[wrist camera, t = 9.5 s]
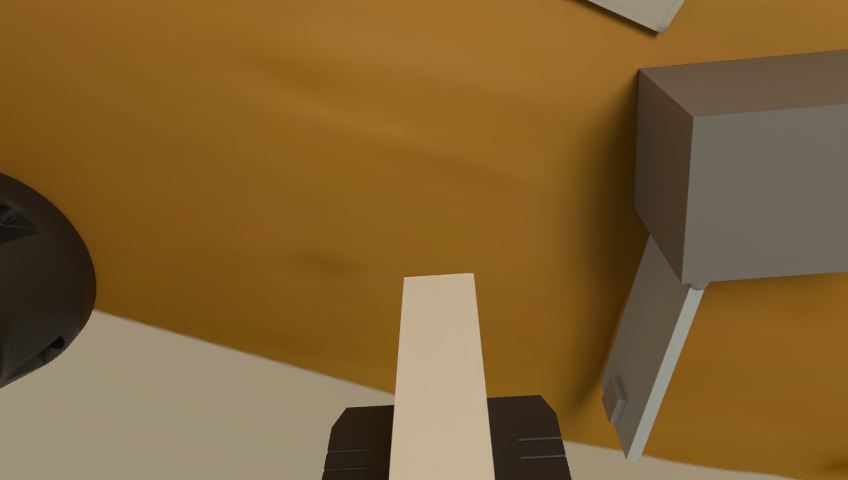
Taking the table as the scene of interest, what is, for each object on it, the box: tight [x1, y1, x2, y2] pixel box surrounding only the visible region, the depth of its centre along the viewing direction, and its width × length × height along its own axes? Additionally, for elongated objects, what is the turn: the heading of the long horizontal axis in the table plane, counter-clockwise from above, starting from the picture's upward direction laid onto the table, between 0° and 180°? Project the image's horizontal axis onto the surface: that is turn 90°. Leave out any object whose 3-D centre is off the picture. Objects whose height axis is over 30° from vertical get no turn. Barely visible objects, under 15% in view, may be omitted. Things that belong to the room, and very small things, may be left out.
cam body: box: [634, 50, 848, 284], centre depth 39 cm, size 19×9×11 cm, turn 95°
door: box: [601, 234, 709, 461], centre depth 44 cm, size 13×2×8 cm, turn 171°
